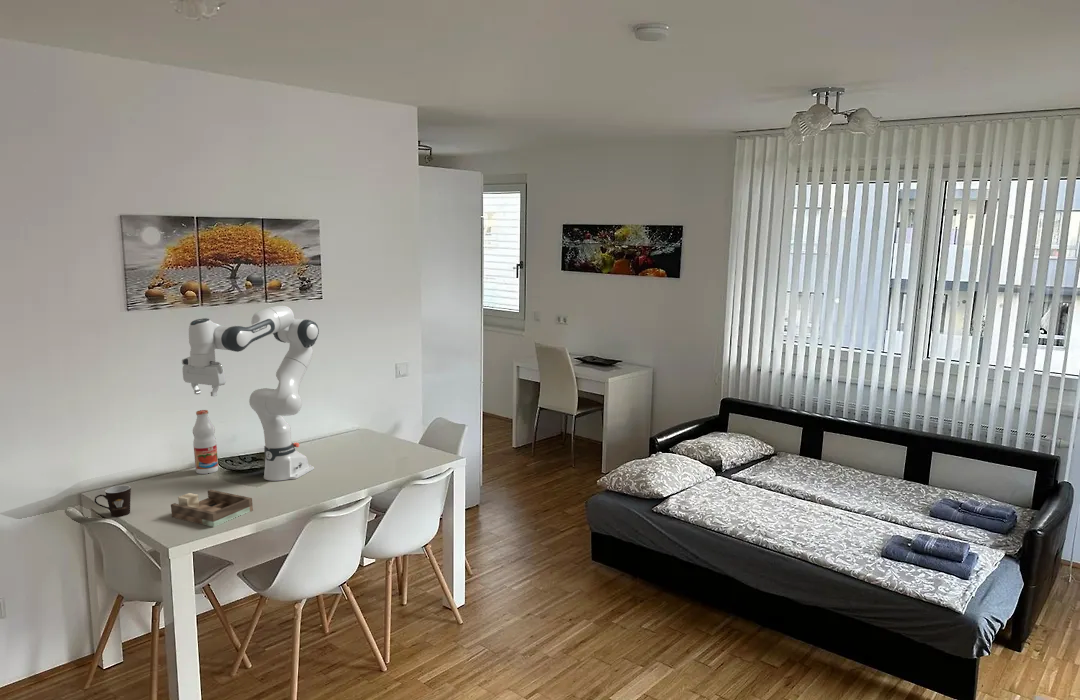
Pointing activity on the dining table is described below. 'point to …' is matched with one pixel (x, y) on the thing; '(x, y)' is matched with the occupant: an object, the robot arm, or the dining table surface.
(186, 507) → the box
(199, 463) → the fruit juice
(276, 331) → the robot arm
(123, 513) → the coffee mug
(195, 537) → the dining table surface
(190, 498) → the birch block
